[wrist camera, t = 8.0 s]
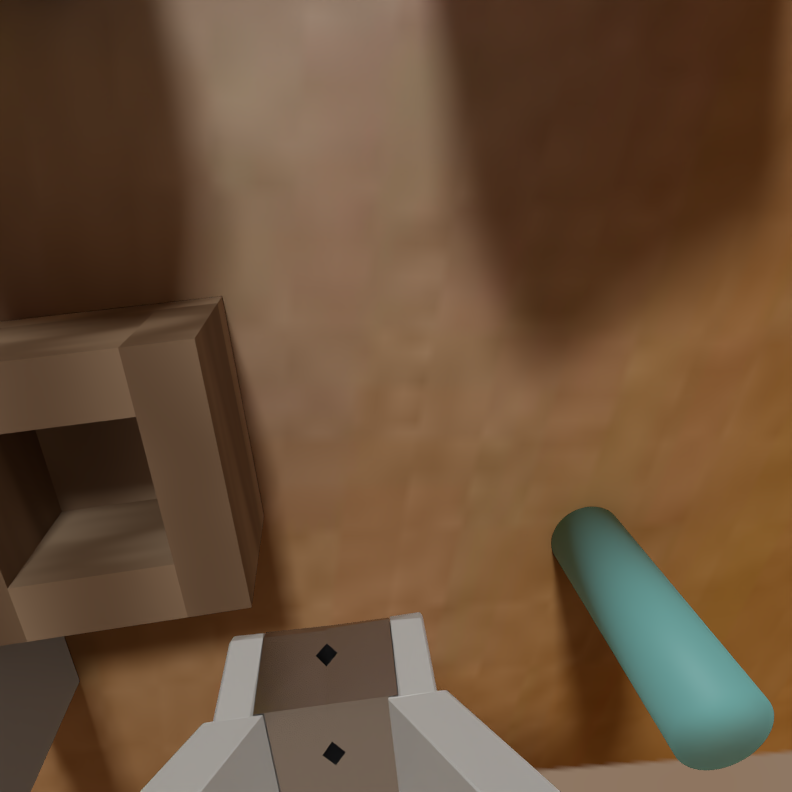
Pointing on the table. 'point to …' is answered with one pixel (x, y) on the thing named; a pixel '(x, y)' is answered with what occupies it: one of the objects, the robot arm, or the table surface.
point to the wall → (32, 706)
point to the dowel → (662, 644)
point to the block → (123, 471)
